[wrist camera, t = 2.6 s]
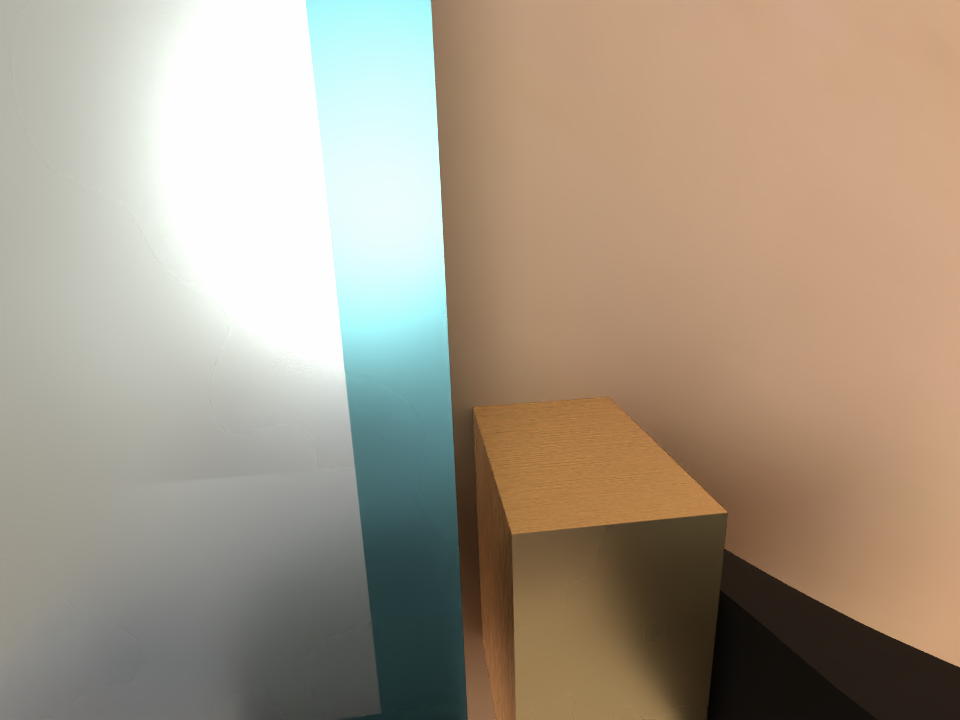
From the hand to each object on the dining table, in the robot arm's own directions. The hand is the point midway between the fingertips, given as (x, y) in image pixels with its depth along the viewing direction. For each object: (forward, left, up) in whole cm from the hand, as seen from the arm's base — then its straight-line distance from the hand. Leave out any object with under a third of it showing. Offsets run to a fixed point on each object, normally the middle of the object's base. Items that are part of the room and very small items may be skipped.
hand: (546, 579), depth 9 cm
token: (0, 0, -1) cm, 1 cm away
